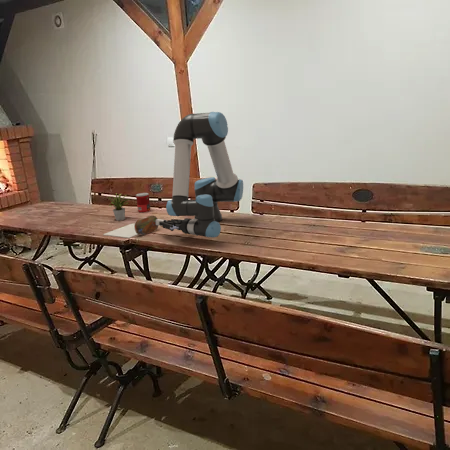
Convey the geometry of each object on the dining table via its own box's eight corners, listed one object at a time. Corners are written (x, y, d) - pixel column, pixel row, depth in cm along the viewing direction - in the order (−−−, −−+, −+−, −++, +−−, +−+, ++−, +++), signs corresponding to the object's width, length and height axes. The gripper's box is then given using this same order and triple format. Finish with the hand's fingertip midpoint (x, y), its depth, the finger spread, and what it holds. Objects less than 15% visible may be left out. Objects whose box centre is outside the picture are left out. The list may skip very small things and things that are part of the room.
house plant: (115, 224, 261) (111, 196, 257) (102, 221, 271) (98, 194, 266) (135, 218, 271) (132, 191, 267) (122, 215, 280) (118, 189, 276)
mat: (157, 226, 248) (157, 226, 248) (129, 238, 230) (128, 237, 230) (132, 224, 258) (132, 223, 258) (103, 235, 241) (102, 234, 241)
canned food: (150, 211, 285) (148, 194, 282) (137, 213, 284) (135, 195, 281) (151, 209, 292) (149, 192, 289) (138, 210, 292) (136, 193, 289)
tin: (138, 237, 231) (136, 221, 229) (134, 236, 233) (132, 220, 231) (159, 229, 243) (157, 214, 240) (155, 228, 245) (153, 213, 242)
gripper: (183, 237, 213) (148, 232, 227) (201, 230, 223) (166, 225, 237) (181, 222, 211) (146, 218, 225) (199, 215, 221) (165, 211, 235)
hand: (157, 222), depth 231 cm, fingers closed
